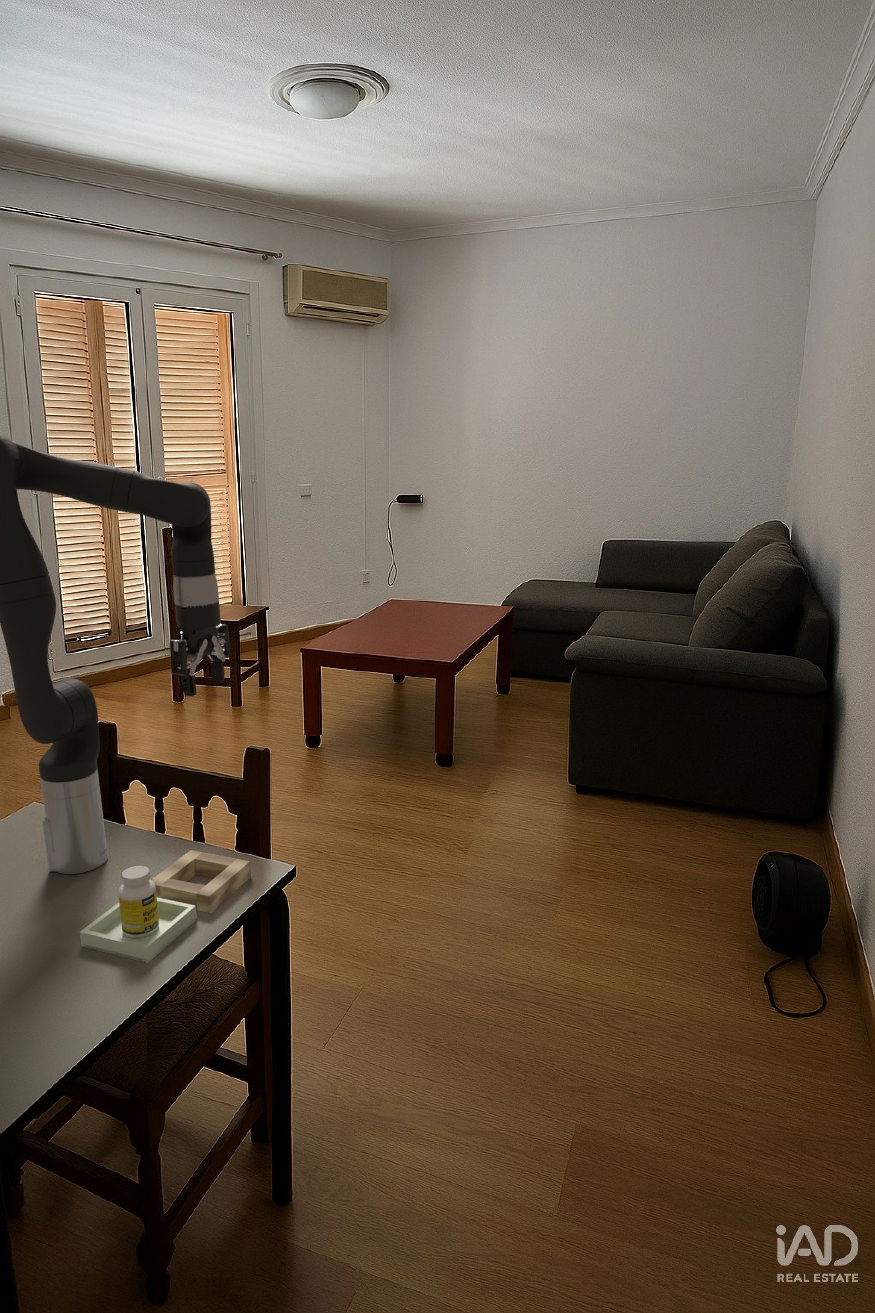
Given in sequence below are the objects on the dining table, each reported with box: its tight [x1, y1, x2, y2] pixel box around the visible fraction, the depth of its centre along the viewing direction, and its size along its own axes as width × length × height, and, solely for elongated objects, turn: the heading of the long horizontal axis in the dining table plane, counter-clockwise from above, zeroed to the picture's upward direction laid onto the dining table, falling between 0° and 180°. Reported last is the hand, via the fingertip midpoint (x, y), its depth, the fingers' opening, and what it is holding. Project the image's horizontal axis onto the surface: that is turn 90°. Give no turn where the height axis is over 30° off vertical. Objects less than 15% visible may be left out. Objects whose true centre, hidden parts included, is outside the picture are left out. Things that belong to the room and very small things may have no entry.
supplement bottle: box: [118, 865, 159, 938], centre depth 134 cm, size 5×5×10 cm
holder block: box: [151, 849, 252, 914], centre depth 147 cm, size 12×12×3 cm
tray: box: [79, 897, 198, 964], centre depth 134 cm, size 12×12×2 cm
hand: (204, 688), depth 157 cm, fingers open, 8 cm apart
